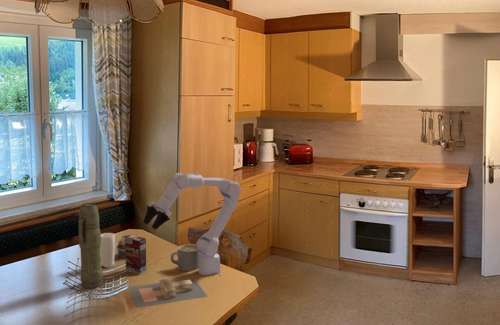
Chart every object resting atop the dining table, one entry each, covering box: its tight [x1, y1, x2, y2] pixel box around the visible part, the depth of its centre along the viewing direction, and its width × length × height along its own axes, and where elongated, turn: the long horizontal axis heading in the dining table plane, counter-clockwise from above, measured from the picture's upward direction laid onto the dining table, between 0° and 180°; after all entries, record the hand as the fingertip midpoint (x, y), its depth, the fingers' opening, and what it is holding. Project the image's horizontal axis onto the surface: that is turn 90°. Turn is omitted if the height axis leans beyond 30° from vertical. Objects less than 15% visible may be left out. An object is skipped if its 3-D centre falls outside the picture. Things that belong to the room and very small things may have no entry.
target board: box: [128, 277, 208, 308], centre depth 207 cm, size 28×20×1 cm
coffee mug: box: [170, 243, 198, 272], centre depth 234 cm, size 13×10×10 cm
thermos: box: [77, 202, 103, 290], centre depth 212 cm, size 9×12×35 cm
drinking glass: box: [100, 232, 116, 268], centre depth 236 cm, size 7×7×15 cm
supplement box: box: [125, 234, 147, 275], centre depth 229 cm, size 9×5×16 cm, turn 62°
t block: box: [159, 278, 193, 298], centre depth 208 cm, size 12×12×3 cm
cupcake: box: [116, 234, 132, 260], centre depth 250 cm, size 10×10×10 cm
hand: (149, 226), depth 209 cm, fingers open, 7 cm apart
